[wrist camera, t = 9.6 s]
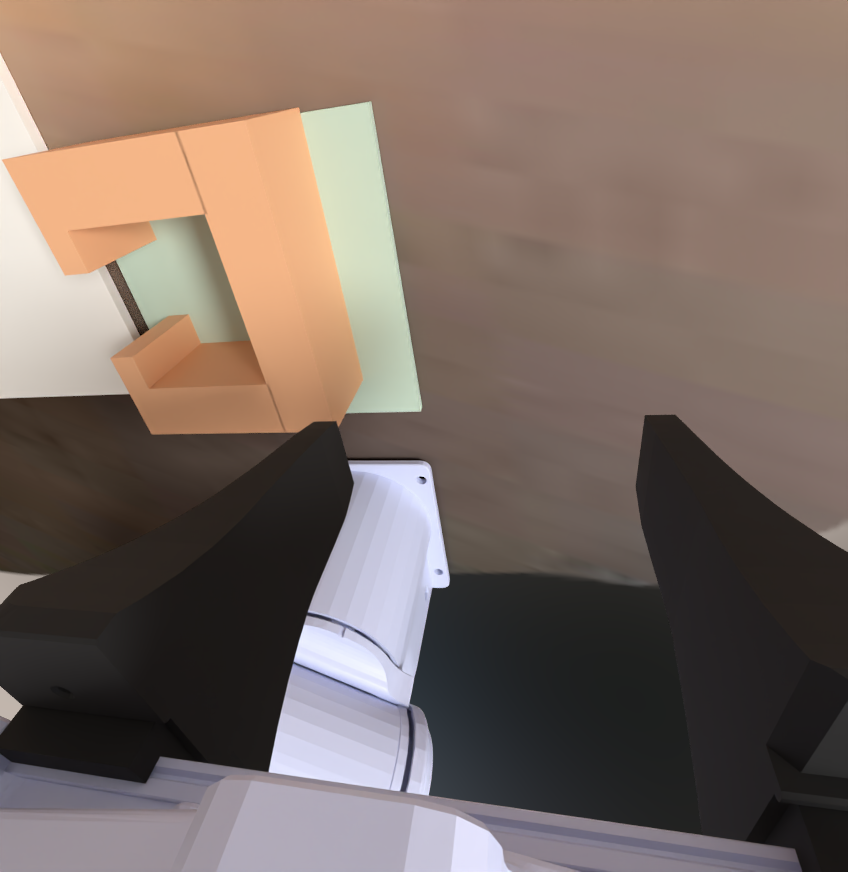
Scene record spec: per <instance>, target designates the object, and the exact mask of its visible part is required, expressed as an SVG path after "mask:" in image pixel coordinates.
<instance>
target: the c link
mask: <svg viewBox="0 0 848 872" xmlns="http://www.w3.org/2000/svg"><path fill="white" fill-rule="evenodd" d="M2 161H3V163H4V165H5V167H6V169H7V170H8V172H9V174H10V176H11V178H12V180H13V181H14V183H15V185H16V187H17V189H18V191H19V192H20V194H21V196H22V198H23V200H24V201H25V203H26V205H27V207H28V209H29V211H30V212H31V214H32V216H33V218H34V220H35V222H36V223H37V225H38V227H39V229H40V231H41V233H42V234H43V236H44V238H45V240H46V242H47V244H48V245H49V247H50V249H51V251H52V253H53V255H54V256H55V258H56V260H57V262H58V264H59V266H60V267H61V269H62V271H63V273H64V275H65V276H66V275H76V274H86V273H91V272H93V271H95V270H97V269H99V268H101V267H103V266H105V265H107V264H109V263H111V262H113V261H115V260H117V259H119V258H121V257H123V256H125V255H127V254H129V253H131V252H133V251H135V250H137V249H139V248H141V247H143V246H145V245H147V244H149V243H151V242H153V241H155V240H157V239H156V236H155V234H154V232H153V229H152V227H151V225H150V222H149V221H153V220H162V219H170V218H178V217H187V216H195V215H203V214H205V216H206V219H207V222H208V225H209V227H210V230H211V233H212V236H213V238H214V241H215V244H216V247H217V249H218V252H219V255H220V258H221V260H222V263H223V266H224V269H225V271H226V274H227V277H228V280H229V282H230V285H231V288H232V291H233V293H234V296H235V299H236V302H237V304H238V307H239V310H240V313H241V315H242V318H243V321H244V324H245V327H246V329H247V332H248V335H249V338H250V341H232V342H215V343H201V342H200V340H199V338H198V335H197V333H196V330H195V328H194V326H193V323H192V321H191V319H190V316H189V314H186V315H172V316H168V317H166V318H165V319H164V320H162V321H161V322H159V323H158V324H157V325H155V326H154V327H153V328H151V329H150V330H148V331H147V332H146V333H144V334H143V335H141V336H140V337H139V338H137V339H136V340H135V341H133V342H132V343H130V344H129V345H128V346H126V347H125V348H123V349H122V350H121V351H119V352H118V353H117V354H115V355H114V356H112V357H111V358H110V359H111V361H112V363H113V364H114V366H115V368H116V370H117V372H118V374H119V375H120V377H121V379H122V381H123V383H124V385H125V386H126V388H127V390H128V392H129V394H130V396H131V397H132V399H133V401H134V403H135V405H136V407H137V408H138V410H139V412H140V414H141V416H142V418H143V419H144V421H145V423H146V425H147V427H148V428H149V430H150V432H151V434H214V433H284V432H300V431H301V430H302V429H304V428H305V427H307V426H308V425H309V424H311V423H313V422H316V421H337V425H338V427H339V425H340V423H341V421H342V419H343V418H344V416H345V414H346V412H347V410H348V408H349V406H350V404H351V402H352V400H353V398H354V397H355V395H356V393H357V391H358V389H359V387H360V385H361V383H362V381H363V376H362V372H361V368H360V364H359V359H358V355H357V351H356V347H355V342H354V338H353V334H352V330H351V326H350V321H349V317H348V313H347V309H346V304H345V300H344V296H343V292H342V288H341V283H340V279H339V275H338V271H337V266H336V262H335V258H334V254H333V250H332V245H331V241H330V237H329V233H328V228H327V224H326V220H325V216H324V212H323V207H322V203H321V199H320V195H319V191H318V186H317V182H316V178H315V174H314V169H313V165H312V161H311V157H310V153H309V148H308V144H307V140H306V136H305V131H304V127H303V123H302V119H301V115H300V110H299V107H298V108H292V109H286V110H280V111H274V112H268V113H262V114H256V115H250V116H244V117H237V118H231V119H225V120H219V121H213V122H207V123H201V124H195V125H189V126H183V127H177V128H171V129H165V130H158V131H152V132H146V133H140V134H134V135H128V136H122V137H116V138H110V139H104V140H98V141H92V142H87V143H82V144H77V145H72V146H67V147H62V148H57V149H52V150H47V151H42V152H37V153H32V154H27V155H23V156H18V157H13V158H8V159H3V160H2Z"/></svg>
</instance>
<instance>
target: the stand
mask: <svg viewBox="0 0 848 872" xmlns="http://www.w3.org/2000/svg"><path fill="white" fill-rule="evenodd" d="M47 150H48V149H47V147H46V145H45V142H44V140H43V138H42V136H41V134H40V132H39V130H38V128H37V126H36V124H35V122H34V120H33V118H32V116H31V114H30V112H29V110H28V108H27V106H26V104H25V102H24V100H23V98H22V96H21V94H20V92H19V90H18V88H17V86H16V84H15V82H14V80H13V78H12V76H11V74H10V72H9V70H8V68H7V66H6V64H5V62H4V60H3V58H2V56H1V54H0V398H27V397H56V396H85V395H114V394H129V392H128V390H127V388H126V386H125V385H124V383H123V381H122V379H121V377H120V375H119V374H118V372H117V370H116V368H115V366H114V364H113V363H112V361H111V359H110V358H111V357H112V356H114V355H115V354H117V353H118V352H119V351H121V350H122V349H123V348H125V347H126V346H128V345H129V344H130V343H132V342H133V341H135V340H136V339H137V338H139V337H140V335H139V332H138V330H137V328H136V326H135V324H134V322H133V320H132V318H131V316H130V314H129V312H128V310H127V308H126V306H125V304H124V302H123V300H122V298H121V296H120V294H119V292H118V290H117V288H116V286H115V284H114V282H113V280H112V278H111V276H110V274H109V272H108V270H107V268H106V266H103V267H101V268H99V269H97V270H95V271H93V272H91V273H86V274H76V275H66V276H65V275H64V273H63V271H62V269H61V267H60V266H59V264H58V262H57V260H56V258H55V256H54V255H53V253H52V251H51V249H50V247H49V245H48V244H47V242H46V240H45V238H44V236H43V234H42V233H41V231H40V229H39V227H38V225H37V223H36V222H35V220H34V218H33V216H32V214H31V212H30V211H29V209H28V207H27V205H26V203H25V201H24V200H23V198H22V196H21V194H20V192H19V191H18V189H17V187H16V185H15V183H14V181H13V180H12V178H11V176H10V174H9V172H8V170H7V169H6V167H5V165H4V163H3V161H2V160H3V159H8V158H13V157H18V156H23V155H27V154H32V153H37V152H42V151H47Z"/></svg>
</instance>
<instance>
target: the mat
mask: <svg viewBox="0 0 848 872" xmlns="http://www.w3.org/2000/svg"><path fill="white" fill-rule="evenodd" d="M300 115H301V119H302V123H303V127H304V131H305V136H306V140H307V144H308V148H309V153H310V157H311V161H312V165H313V169H314V174H315V178H316V182H317V186H318V191H319V195H320V199H321V203H322V207H323V212H324V216H325V220H326V224H327V228H328V233H329V237H330V241H331V245H332V250H333V254H334V258H335V262H336V266H337V271H338V275H339V279H340V283H341V288H342V292H343V296H344V300H345V304H346V309H347V313H348V317H349V321H350V326H351V330H352V334H353V338H354V342H355V347H356V351H357V355H358V359H359V364H360V368H361V372H362V376H363V381H362V383H361V385H360V387H359V389H358V391H357V393H356V395H355V397H354V398H353V400H352V402H351V404H350V406H349V408H348V410H347V412H346V413H372V412H416V411H421V409H422V403H421V397H420V391H419V385H418V379H417V373H416V367H415V361H414V355H413V349H412V343H411V337H410V331H409V325H408V319H407V313H406V307H405V301H404V295H403V289H402V283H401V277H400V271H399V265H398V259H397V253H396V247H395V241H394V235H393V229H392V223H391V217H390V211H389V205H388V199H387V193H386V187H385V181H384V175H383V169H382V163H381V158H380V152H379V146H378V140H377V134H376V128H375V122H374V116H373V110H372V104H371V101H370V102H364V103H357V104H351V105H345V106H339V107H333V108H326V109H320V110H314V111H308V112H302V113H300ZM149 222H150V225H151V227H152V229H153V232H154V234H155V236H156V239H157V240H155V241H153V242H151V243H149V244H147V245H145V246H143V247H141V248H139V249H137V250H135V251H133V252H131V253H129V254H127V255H125V256H123V257H121V258H119V259H117V260H116V262H117V264H118V266H119V268H120V270H121V272H122V274H123V276H124V278H125V280H126V282H127V284H128V287H129V289H130V291H131V293H132V295H133V297H134V299H135V301H136V303H137V305H138V307H139V309H140V311H141V314H142V316H143V318H144V320H145V322H146V324H147V326H148V328H149V330H150V329H151V328H153V327H154V326H155V325H157V324H158V323H159V322H161V321H162V320H164V319H165V318H166V317H168V316H172V315H186V314H189V316H190V319H191V321H192V323H193V326H194V328H195V330H196V333H197V335H198V338H199V340H200V342H201V343H215V342H232V341H250V338H249V335H248V332H247V329H246V327H245V324H244V321H243V318H242V315H241V313H240V310H239V307H238V304H237V302H236V299H235V296H234V293H233V291H232V288H231V285H230V282H229V280H228V277H227V274H226V271H225V269H224V266H223V263H222V260H221V258H220V255H219V252H218V249H217V247H216V244H215V241H214V238H213V236H212V233H211V230H210V227H209V225H208V222H207V219H206V216H205V214H203V215H195V216H187V217H178V218H170V219H162V220H153V221H149Z"/></svg>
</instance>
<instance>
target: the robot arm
mask: <svg viewBox="0 0 848 872" xmlns="http://www.w3.org/2000/svg"><path fill="white" fill-rule="evenodd" d="M420 476H422V477H424V478H426V479H421V478H419V477H420ZM636 491H637V498H638V506H639V512H640V519H641V525H642V529H643V532H644V536H645V539H646V543H647V546H648V550H649V553H650V557H651V560H652V564H653V567H654V571H655V574H656V577H657V581H658V584H659V588H660V591H661V594H662V597H663V601H664V605H665V608H666V612H667V616H668V620H669V623H670V627H671V632H672V637H673V643H674V649H675V654H676V660H677V666H678V671H679V677H680V683H681V689H682V696H683V702H684V708H685V714H686V720H687V726H688V734H689V741H690V747H691V754H692V761H693V768H694V775H695V782H696V790H697V798H698V806H699V814H700V821H701V829H702V835H696V834H690V833H683V832H676V831H669V830H662V829H655V828H648V827H641V826H635V825H627V824H621V823H614V822H607V821H600V820H593V819H586V818H579V817H573V816H566V815H558V814H552V813H545V812H538V811H531V810H524V809H518V808H510V807H504V806H496V805H490V804H483V803H476V802H469V801H462V800H456V799H448V798H442V797H435V796H428V795H429V789H430V783H431V776H432V764H433V763H432V762H433V749H432V741H431V736H430V733H429V731H428V725H427V721H426V719H425V715H424V713H423V712H422V710H421V709H420V708H419V707H416V706H414V705H411V704H409V702H410V697H411V692H412V687H413V681H414V676H415V673H416V668H417V663H418V658H419V653H420V647H421V642H422V637H423V632H424V627H425V621H426V616H427V611H428V606H429V601H430V595H431V590H432V587H433V588H445V587H447V586H448V585H449V581H450V577H449V571H448V565H447V559H446V553H445V548H444V542H443V536H442V530H441V524H440V518H439V512H438V506H437V500H436V494H435V488H434V482H433V477H432V471H431V467H430V465H429V464H428V463H427V462H425V461H420V460H399V461H348V460H347V456H346V453H345V449H344V446H343V442H342V439H341V435H340V432H339V428H338V425H337V421H316V422H313V423H311V424H309V425H308V426H307V427H305V428H304V429H302V430H301V431H300V432H298V433H297V434H296V435H294V436H293V437H292V438H291V439H289V440H288V441H287V442H286V443H284V444H283V445H282V446H280V447H279V448H278V449H277V450H275V451H274V452H273V453H271V454H270V455H269V456H268V457H266V458H265V459H264V460H262V461H261V462H260V463H259V464H257V465H256V466H255V467H253V468H252V469H251V470H249V471H248V472H246V473H245V474H244V475H242V476H241V477H240V478H238V479H237V480H235V481H234V482H233V483H231V484H230V485H228V486H227V487H226V488H224V489H223V490H221V491H220V492H218V493H217V494H215V495H214V496H212V497H211V498H209V499H208V500H206V501H205V502H203V503H201V504H200V505H198V506H196V507H195V508H193V509H191V510H190V511H188V512H186V513H185V514H183V515H181V516H179V517H178V518H176V519H174V520H172V521H170V522H168V523H166V524H164V525H162V526H161V527H159V528H157V529H155V530H153V531H151V532H149V533H147V534H145V535H143V536H141V537H139V538H137V539H135V540H133V541H131V542H129V543H127V544H124V545H122V546H120V547H118V548H116V549H113V550H111V551H109V552H106V553H104V554H102V555H99V556H97V557H95V558H92V559H90V560H87V561H85V562H82V563H80V564H77V565H75V566H72V567H69V568H66V569H64V570H61V571H58V572H55V573H53V574H50V575H47V576H44V577H42V578H39V579H36V580H33V581H31V582H27V583H24V584H21V585H19V586H18V587H17V588H16V589H15V590H14V591H13V592H12V593H11V594H10V595H9V596H8V597H7V598H6V599H5V600H4V602H3V603H2V604H1V605H0V686H1V687H2V688H3V689H4V690H6V691H7V692H8V693H9V694H10V695H11V696H12V697H14V698H15V699H16V700H17V701H18V702H19V703H21V704H22V705H23V706H22V708H21V709H20V710H19V712H18V713H17V714H16V715H15V717H14V718H13V719H12V721H10V720H8V719H6V718H4V717H1V716H0V872H848V552H846V551H844V550H843V549H841V548H839V547H838V546H836V545H835V544H833V543H831V542H830V541H828V540H827V539H825V538H823V537H822V536H820V535H819V534H817V533H816V532H814V531H813V530H811V529H810V528H808V527H807V526H805V525H804V524H802V523H801V522H800V521H798V520H797V519H795V518H794V517H792V516H791V515H789V514H788V513H786V512H785V511H784V510H782V509H781V508H780V507H778V506H777V505H775V504H774V503H773V502H772V501H770V500H769V499H768V498H766V497H765V496H764V495H763V494H761V493H760V492H759V491H758V490H756V489H755V488H754V487H753V486H751V485H750V484H749V483H748V482H746V481H745V480H744V479H743V478H742V477H741V476H739V475H738V474H737V473H736V472H735V471H734V470H733V469H731V468H730V467H729V466H728V465H727V464H726V463H725V462H724V461H723V460H721V459H720V458H719V457H718V456H717V455H716V454H715V453H714V452H713V451H712V450H711V449H710V448H709V447H708V446H707V445H706V444H705V443H704V442H703V441H702V440H700V439H699V438H698V437H697V436H696V435H695V434H694V433H693V432H692V431H691V430H690V429H689V428H688V427H687V426H686V425H685V424H684V423H683V422H682V421H681V420H680V419H679V418H678V417H677V416H676V415H645V419H644V427H643V434H642V442H641V450H640V457H639V465H638V473H637V480H636Z"/></svg>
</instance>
